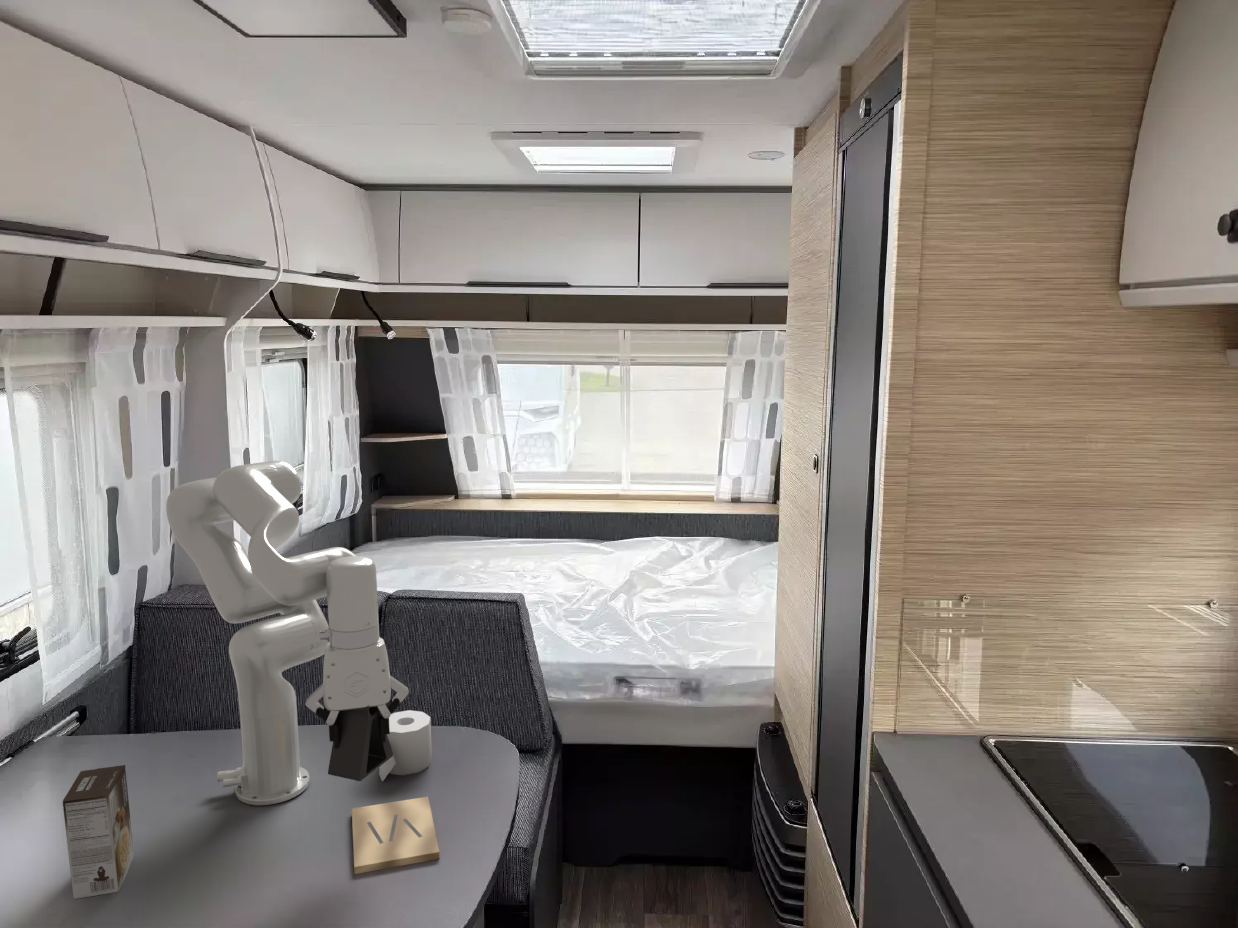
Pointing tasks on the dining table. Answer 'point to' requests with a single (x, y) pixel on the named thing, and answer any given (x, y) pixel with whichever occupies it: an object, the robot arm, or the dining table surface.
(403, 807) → the marked board
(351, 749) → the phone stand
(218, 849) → the dining table surface
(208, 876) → the dining table surface
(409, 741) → the toilet tissue
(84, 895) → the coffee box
